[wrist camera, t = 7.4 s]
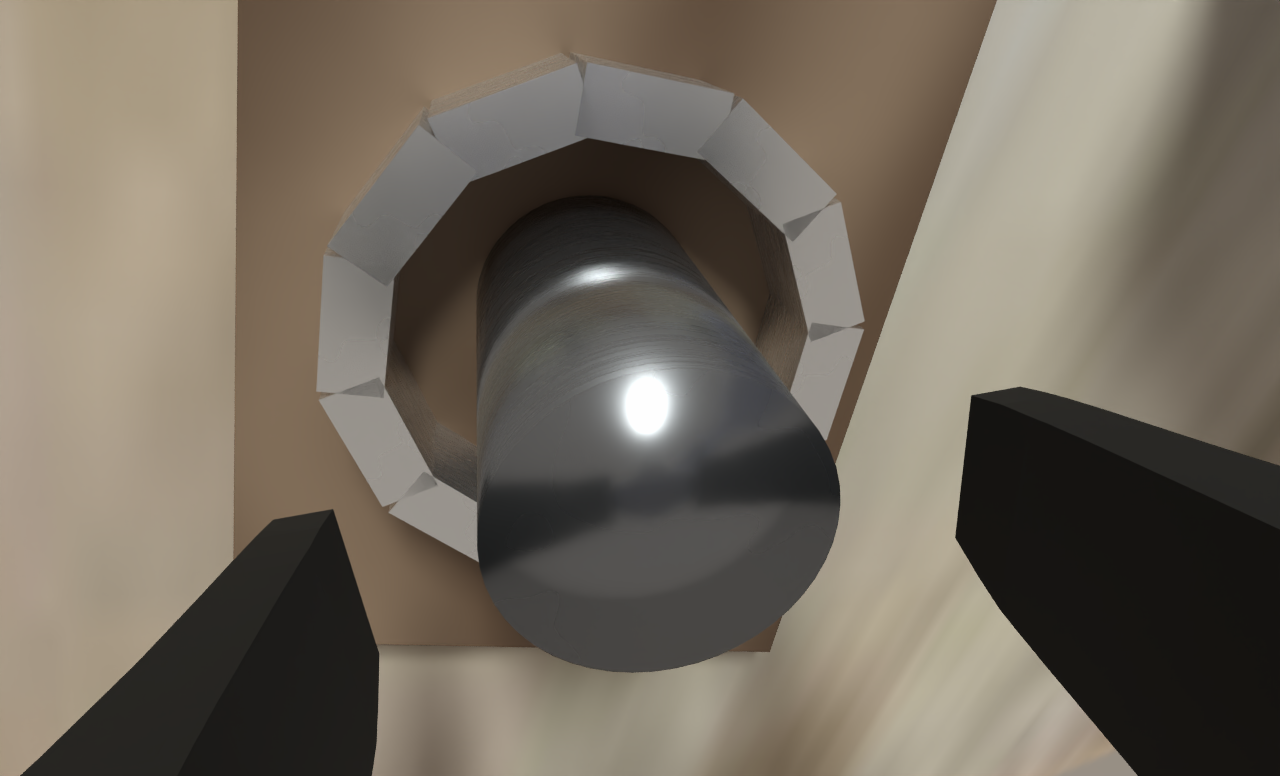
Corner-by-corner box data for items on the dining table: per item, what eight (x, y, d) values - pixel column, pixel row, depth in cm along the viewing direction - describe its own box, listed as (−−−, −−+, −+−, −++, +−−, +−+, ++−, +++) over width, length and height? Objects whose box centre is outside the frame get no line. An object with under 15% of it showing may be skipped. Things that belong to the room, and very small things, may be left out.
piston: (671, 170, 14) (822, 323, 8) (709, 369, 16) (854, 616, 10) (446, 228, 14) (422, 432, 8) (511, 423, 16) (534, 710, 10)
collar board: (992, -83, 14) (1111, -99, 12) (756, 624, 21) (799, 716, 18) (257, -304, 11) (195, -394, 9) (243, 608, 18) (206, 718, 15)
